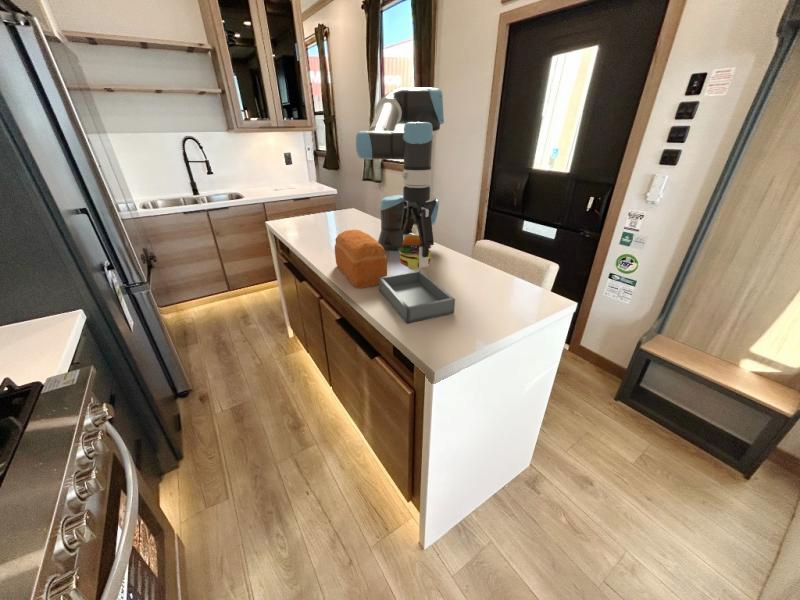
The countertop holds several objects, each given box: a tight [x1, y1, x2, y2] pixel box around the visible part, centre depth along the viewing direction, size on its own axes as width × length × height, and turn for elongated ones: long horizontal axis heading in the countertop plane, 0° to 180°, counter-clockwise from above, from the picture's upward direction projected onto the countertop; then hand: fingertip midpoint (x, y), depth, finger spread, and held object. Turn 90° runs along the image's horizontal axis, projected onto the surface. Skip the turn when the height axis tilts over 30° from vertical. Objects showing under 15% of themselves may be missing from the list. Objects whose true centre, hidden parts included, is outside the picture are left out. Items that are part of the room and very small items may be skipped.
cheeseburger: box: [397, 234, 432, 270], centre depth 98 cm, size 10×11×10 cm
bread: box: [334, 229, 388, 289], centre depth 122 cm, size 14×26×16 cm, turn 26°
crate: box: [378, 270, 456, 325], centre depth 105 cm, size 24×16×5 cm, turn 23°
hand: (415, 260), depth 99 cm, fingers closed on cheeseburger, 11 cm apart
